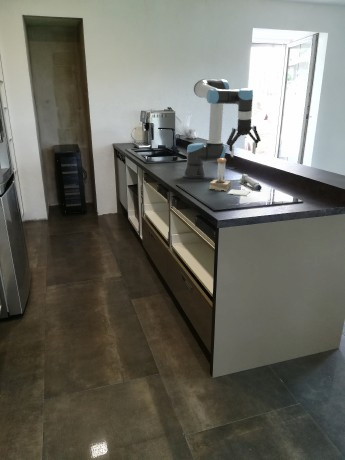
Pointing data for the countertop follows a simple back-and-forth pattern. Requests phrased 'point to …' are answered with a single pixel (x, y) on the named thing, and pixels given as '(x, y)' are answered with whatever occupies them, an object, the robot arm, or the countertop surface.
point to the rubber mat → (238, 192)
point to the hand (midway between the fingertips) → (242, 154)
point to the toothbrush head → (250, 182)
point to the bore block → (220, 185)
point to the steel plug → (221, 170)
